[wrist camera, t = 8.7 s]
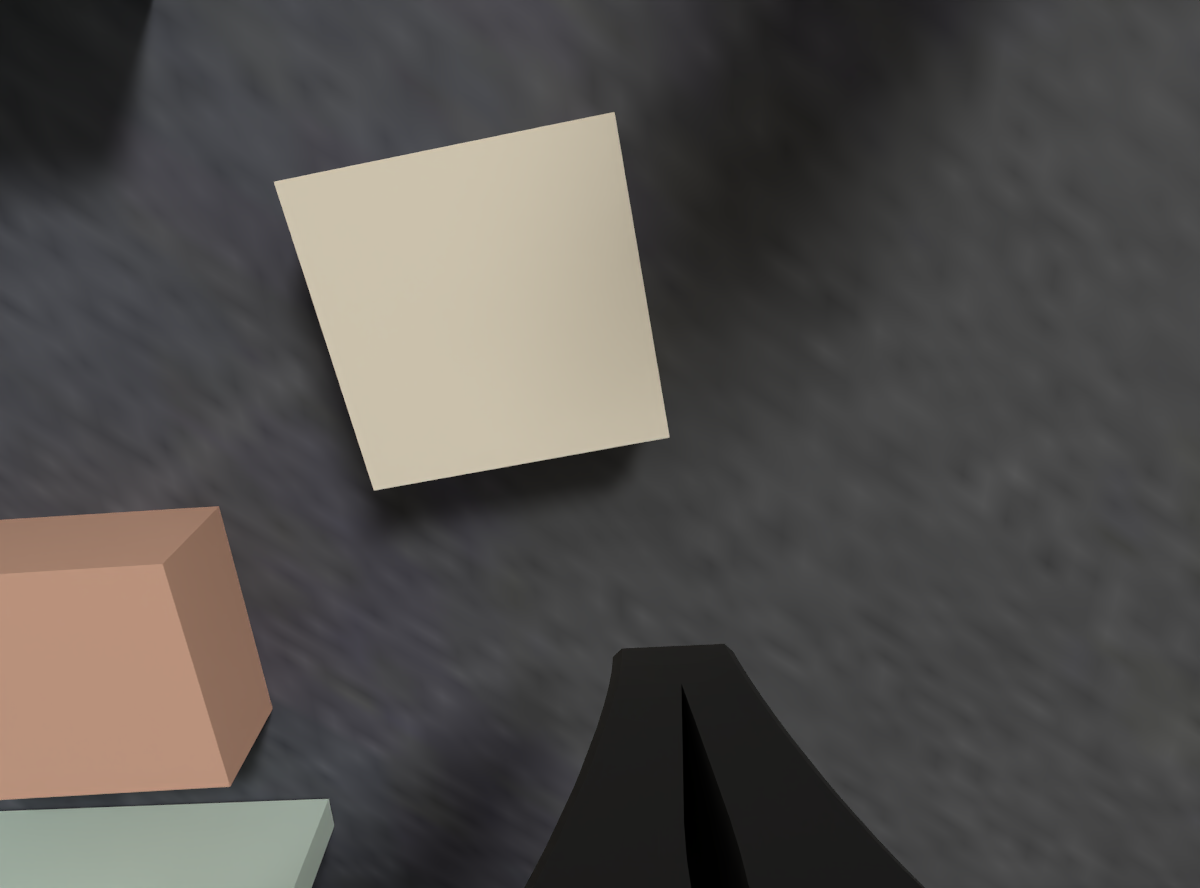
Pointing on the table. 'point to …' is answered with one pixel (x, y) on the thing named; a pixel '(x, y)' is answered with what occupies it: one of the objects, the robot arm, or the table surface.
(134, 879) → the box
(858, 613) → the table surface
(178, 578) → the terracotta tile
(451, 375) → the sand tile
